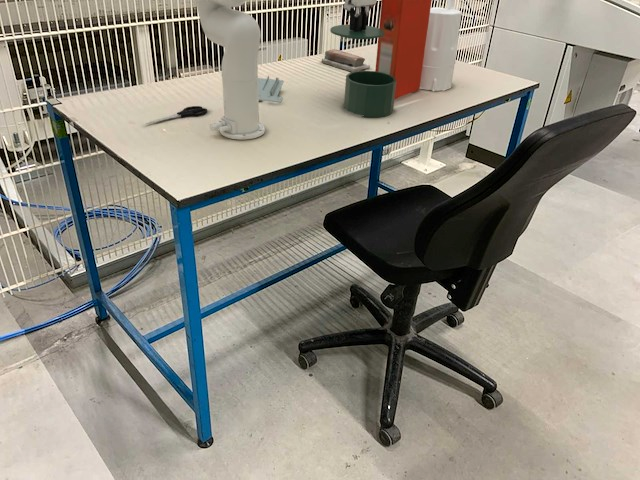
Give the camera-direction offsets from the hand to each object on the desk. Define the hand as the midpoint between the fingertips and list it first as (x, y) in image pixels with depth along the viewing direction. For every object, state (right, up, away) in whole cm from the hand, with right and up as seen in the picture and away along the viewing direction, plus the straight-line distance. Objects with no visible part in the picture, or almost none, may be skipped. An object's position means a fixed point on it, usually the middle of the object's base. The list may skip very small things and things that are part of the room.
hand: (357, 29), depth 158 cm
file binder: (+15, -13, +23) cm, 31 cm away
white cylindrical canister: (+30, -7, +34) cm, 46 cm away
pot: (+4, -22, +9) cm, 24 cm away
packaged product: (-1, +5, +50) cm, 50 cm away
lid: (0, -1, +1) cm, 1 cm away
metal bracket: (-30, -16, +15) cm, 38 cm away
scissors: (-54, -28, -4) cm, 61 cm away
